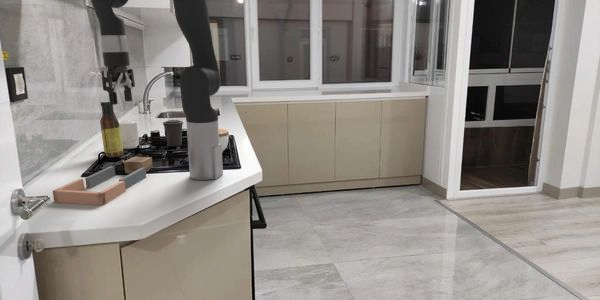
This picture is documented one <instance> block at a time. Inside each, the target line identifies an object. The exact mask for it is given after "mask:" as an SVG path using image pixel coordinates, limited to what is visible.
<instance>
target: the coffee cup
mask: <svg viewBox="0 0 600 300" xmlns="http://www.w3.org/2000/svg"><path fill="white" fill-rule="evenodd" d="M183 124H184V121H183V120H179V119H169V120H166V121H163V122H162V125H163V127H164V133H165V138H166V142H167V143H166V145H167V146H168V147H180V146H182V143H183V142H182V140H183Z"/></svg>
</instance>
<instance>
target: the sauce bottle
mask: <svg viewBox="0 0 600 300" xmlns="http://www.w3.org/2000/svg"><path fill="white" fill-rule="evenodd" d="M100 107H101V111H102V112H101V113H102V115H101V118H100V122H99V124H100V132H101V138H102V144H103V151H104V154H105V153H106V156H107V157H106V156H105V157H106V158H118V157H121V156H123V155H124V148H123V146H122V139H121V132H120V125H119V120H118V118H117V116H116V113H115V111H114V105H112V104H110V100H102V101H100Z"/></svg>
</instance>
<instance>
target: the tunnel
mask: <svg viewBox="0 0 600 300" xmlns="http://www.w3.org/2000/svg"><path fill="white" fill-rule="evenodd" d="M115 169H116V168H115V166H114V165H110V166H108V167H106V168H104V169H100V170H99V171H97V172H95V173H93V174H91V175H89V176H86V177H85V178H84V179H85V185H86V186H85V187H86V188H85V189H92V188H94V187H96V186H98V185H100V184H102V183H104V182H105V181H108V180H109V179H111V178H114V177H115V176H116V170H115ZM146 178H147V172H146V169H145V168H140V169H138V170H136V171H134V172H132V173H128V174H127V175H125V176H123V177H121V178H119V179H118V182H119V181H125V189H126V190H127V189H128V188H129V189H130V188H131V187H132V186H134V185H135V184H137V183H139V182H140V181H143V180H144V179H146Z"/></svg>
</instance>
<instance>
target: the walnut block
mask: <svg viewBox="0 0 600 300" xmlns="http://www.w3.org/2000/svg"><path fill="white" fill-rule="evenodd" d="M123 162H124V163H123V165H124V173H125V174H130V173H132V172H134V171H136V170H138V169H140V168H145V169H146V173H147V172H149V170H150V169H151V168H154V166H153V157H152V156H151V157H149V156H133V157H131V158H128V159H126V160H124V161H123ZM151 170H152V169H151ZM151 170H150V171H151Z"/></svg>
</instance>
